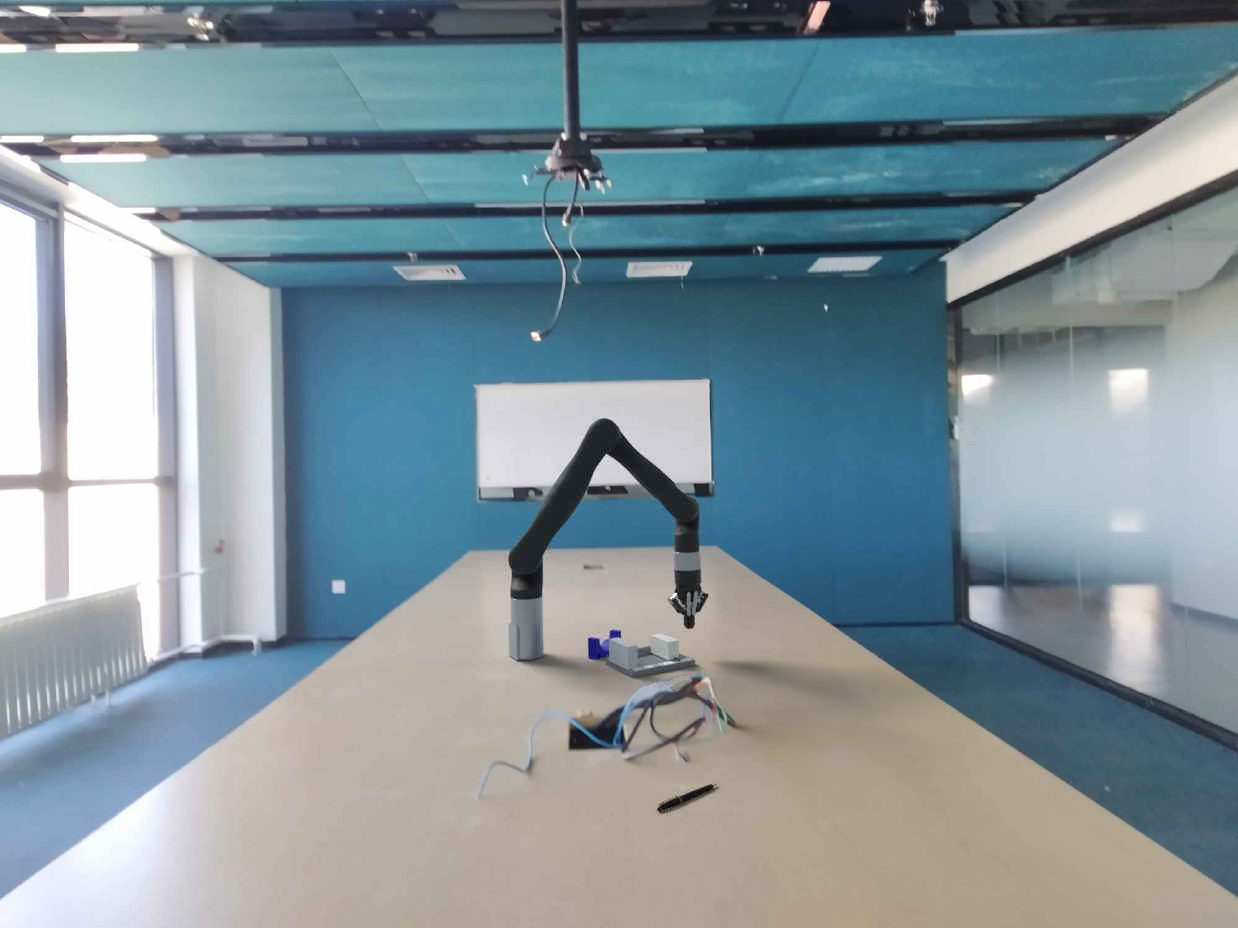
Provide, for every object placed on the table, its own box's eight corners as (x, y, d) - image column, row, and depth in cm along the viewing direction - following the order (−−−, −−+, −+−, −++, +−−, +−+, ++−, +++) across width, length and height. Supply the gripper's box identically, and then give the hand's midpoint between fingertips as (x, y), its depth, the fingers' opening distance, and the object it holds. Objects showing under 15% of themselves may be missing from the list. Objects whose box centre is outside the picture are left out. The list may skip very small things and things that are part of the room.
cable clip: (609, 648, 212) (608, 628, 212) (621, 650, 210) (621, 630, 210) (584, 658, 203) (583, 637, 203) (596, 660, 200) (596, 639, 200)
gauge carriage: (673, 662, 190) (673, 643, 190) (650, 652, 200) (650, 635, 200) (685, 660, 192) (685, 641, 192) (662, 650, 202) (662, 633, 202)
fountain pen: (716, 785, 123) (716, 776, 123) (721, 788, 122) (721, 779, 122) (654, 812, 114) (654, 803, 114) (659, 815, 113) (658, 806, 113)
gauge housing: (631, 677, 183) (631, 648, 183) (606, 664, 195) (605, 637, 195) (695, 665, 193) (694, 637, 193) (666, 653, 205) (666, 627, 205)
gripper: (698, 563, 207) (700, 622, 207) (660, 568, 201) (662, 629, 201) (714, 566, 201) (716, 627, 201) (675, 571, 194) (677, 634, 194)
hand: (689, 628), depth 201 cm, fingers closed
